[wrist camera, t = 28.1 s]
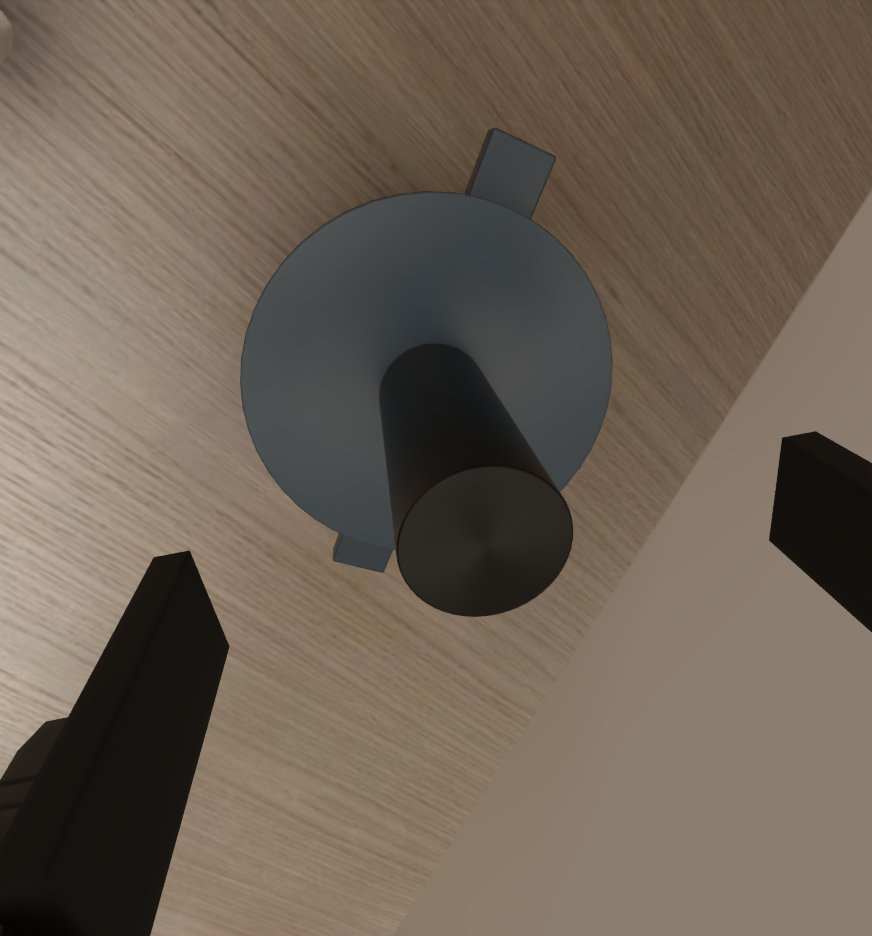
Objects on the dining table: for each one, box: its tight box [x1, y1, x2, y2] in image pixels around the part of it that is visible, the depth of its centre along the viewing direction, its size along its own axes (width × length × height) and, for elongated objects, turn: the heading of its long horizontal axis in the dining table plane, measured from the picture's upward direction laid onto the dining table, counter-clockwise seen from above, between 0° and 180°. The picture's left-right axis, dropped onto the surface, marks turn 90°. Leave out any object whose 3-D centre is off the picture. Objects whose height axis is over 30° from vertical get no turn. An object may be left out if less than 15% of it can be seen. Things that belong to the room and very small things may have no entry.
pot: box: [333, 128, 556, 573], centre depth 28 cm, size 13×18×12 cm
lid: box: [240, 191, 612, 617], centre depth 18 cm, size 14×14×11 cm
